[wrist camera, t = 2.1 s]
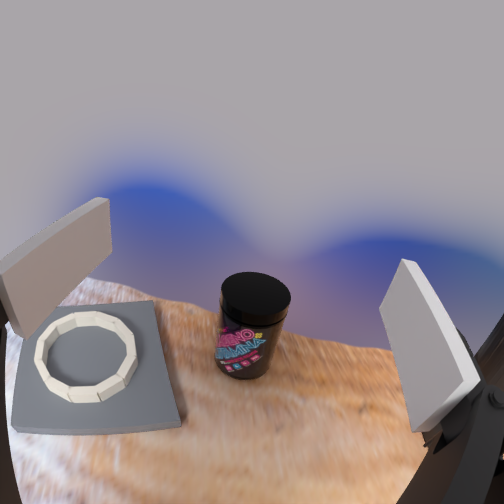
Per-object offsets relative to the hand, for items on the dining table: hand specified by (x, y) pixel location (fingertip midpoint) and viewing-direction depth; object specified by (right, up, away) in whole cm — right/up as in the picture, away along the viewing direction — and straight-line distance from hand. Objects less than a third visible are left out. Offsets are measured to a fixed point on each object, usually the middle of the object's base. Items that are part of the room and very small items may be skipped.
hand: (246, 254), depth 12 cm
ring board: (-18, -13, +15) cm, 27 cm away
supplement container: (-1, -13, +21) cm, 24 cm away
